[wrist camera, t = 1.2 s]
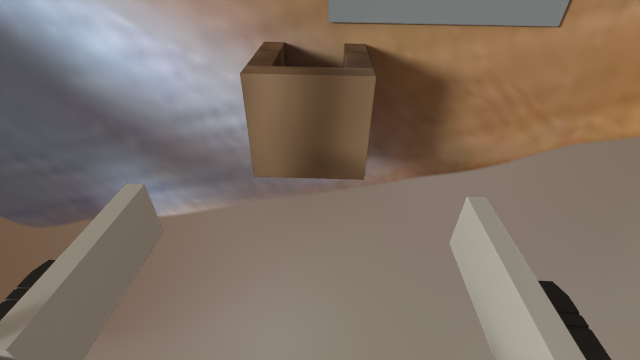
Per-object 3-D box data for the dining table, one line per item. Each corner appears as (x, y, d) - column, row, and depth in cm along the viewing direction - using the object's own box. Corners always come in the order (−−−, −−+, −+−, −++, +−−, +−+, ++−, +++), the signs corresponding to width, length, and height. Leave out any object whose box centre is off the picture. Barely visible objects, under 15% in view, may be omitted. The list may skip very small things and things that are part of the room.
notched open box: (271, 126, 27) (254, 176, 21) (264, 41, 23) (240, 73, 17) (356, 129, 27) (363, 179, 21) (364, 44, 23) (375, 76, 17)
